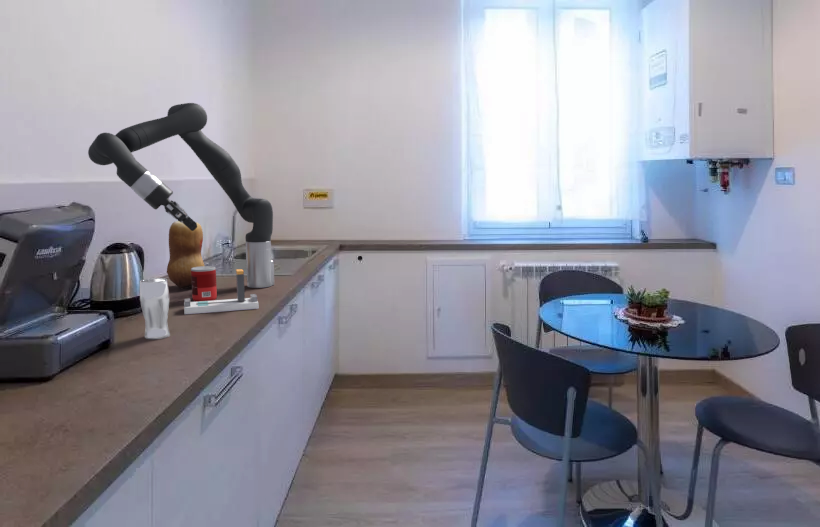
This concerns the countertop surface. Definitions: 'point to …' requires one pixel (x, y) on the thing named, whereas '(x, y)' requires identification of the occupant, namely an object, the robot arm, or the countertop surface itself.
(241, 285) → the post
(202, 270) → the canned food
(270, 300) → the countertop surface
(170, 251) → the butternut squash
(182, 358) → the countertop surface
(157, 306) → the beer glass
